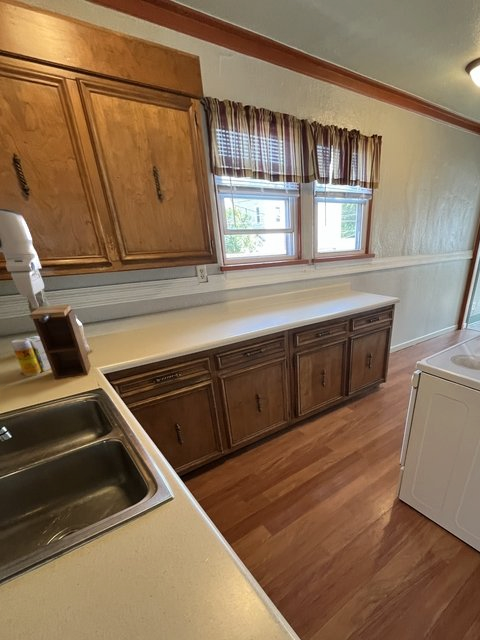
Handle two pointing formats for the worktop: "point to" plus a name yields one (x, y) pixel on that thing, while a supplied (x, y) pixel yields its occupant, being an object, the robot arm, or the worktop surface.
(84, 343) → the plastic bottle
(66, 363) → the nightstand
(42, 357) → the syrup box
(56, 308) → the shelf
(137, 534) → the worktop surface
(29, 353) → the beer can
